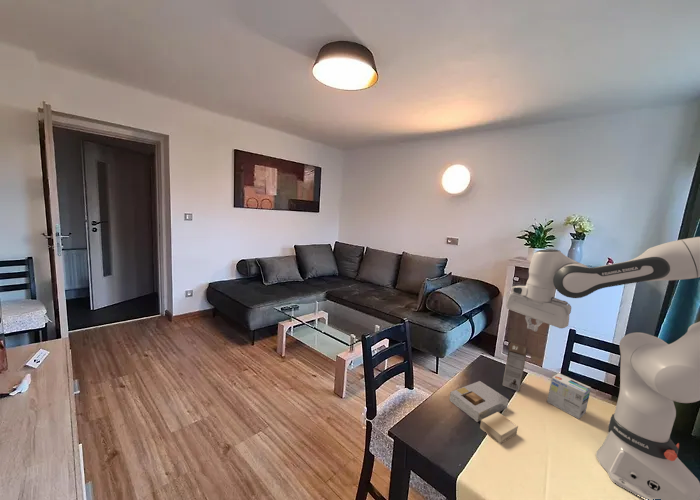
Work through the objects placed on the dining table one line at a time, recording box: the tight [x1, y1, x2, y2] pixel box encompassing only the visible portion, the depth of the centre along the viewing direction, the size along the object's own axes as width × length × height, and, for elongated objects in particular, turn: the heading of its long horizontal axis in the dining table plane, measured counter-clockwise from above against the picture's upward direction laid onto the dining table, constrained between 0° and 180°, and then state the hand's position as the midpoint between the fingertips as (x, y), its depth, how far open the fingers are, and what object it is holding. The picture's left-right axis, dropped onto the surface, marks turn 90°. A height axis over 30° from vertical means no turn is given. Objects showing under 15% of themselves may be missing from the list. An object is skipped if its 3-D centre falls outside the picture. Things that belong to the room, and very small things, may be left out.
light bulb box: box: [546, 372, 592, 420], centre depth 108 cm, size 11×7×11 cm, turn 35°
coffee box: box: [502, 342, 528, 392], centre depth 121 cm, size 9×6×16 cm
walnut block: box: [466, 392, 483, 406], centre depth 105 cm, size 4×4×4 cm
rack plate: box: [448, 380, 509, 423], centre depth 107 cm, size 12×17×4 cm
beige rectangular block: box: [479, 412, 519, 445], centre depth 94 cm, size 7×9×3 cm
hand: (532, 329), depth 106 cm, fingers closed
